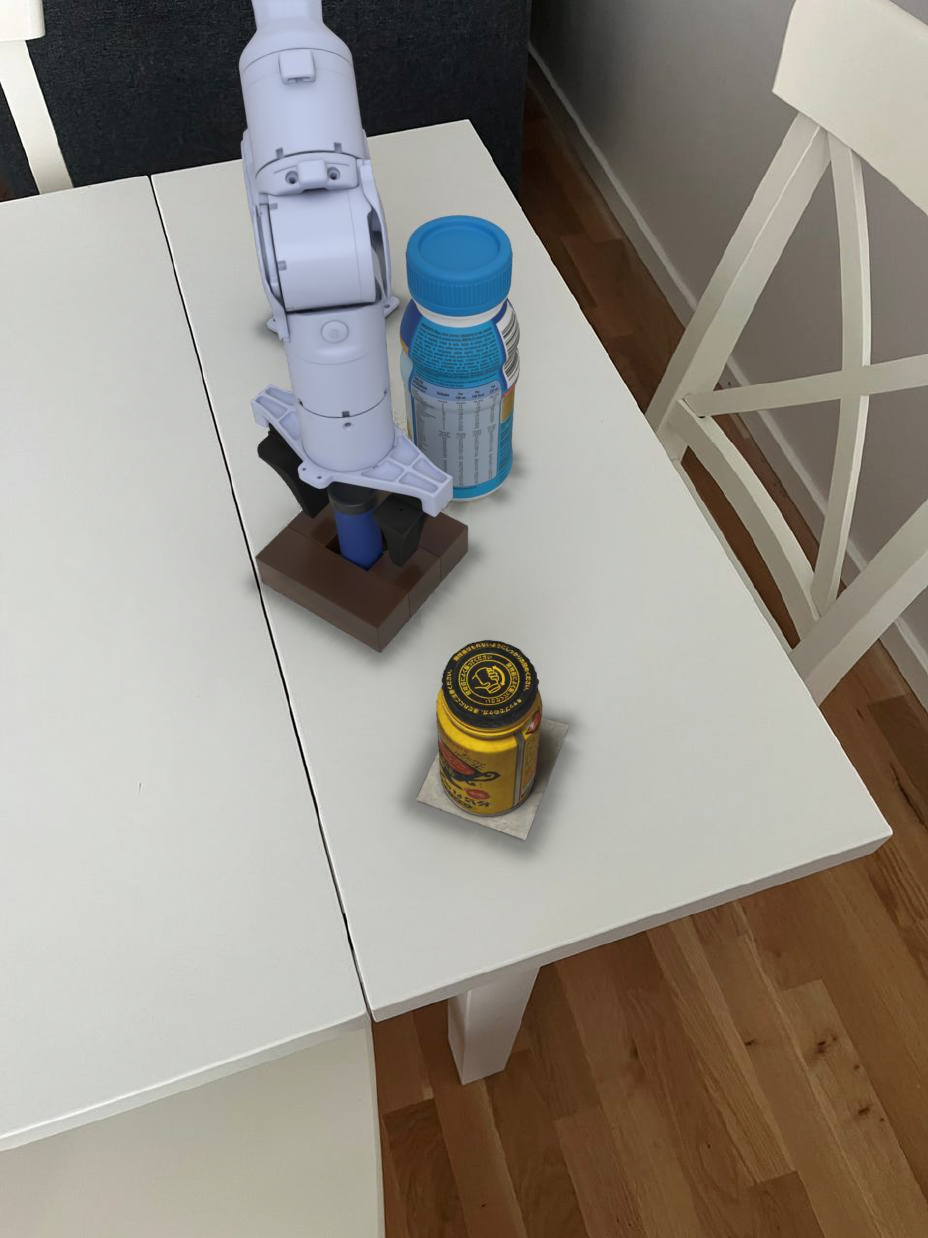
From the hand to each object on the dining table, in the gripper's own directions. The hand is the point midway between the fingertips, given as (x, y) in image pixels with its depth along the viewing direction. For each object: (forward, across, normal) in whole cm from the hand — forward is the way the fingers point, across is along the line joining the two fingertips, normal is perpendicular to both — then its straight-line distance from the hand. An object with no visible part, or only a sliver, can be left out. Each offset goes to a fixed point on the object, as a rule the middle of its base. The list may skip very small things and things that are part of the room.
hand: (361, 531), depth 69 cm
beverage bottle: (+4, 0, +12) cm, 13 cm away
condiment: (+4, +16, -8) cm, 19 cm away
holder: (+4, 0, 0) cm, 4 cm away
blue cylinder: (+4, 0, 0) cm, 4 cm away
